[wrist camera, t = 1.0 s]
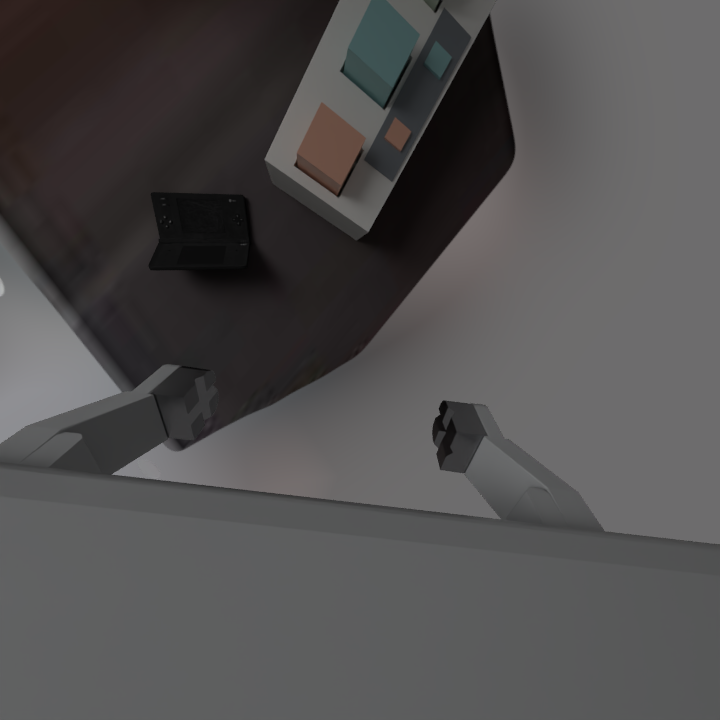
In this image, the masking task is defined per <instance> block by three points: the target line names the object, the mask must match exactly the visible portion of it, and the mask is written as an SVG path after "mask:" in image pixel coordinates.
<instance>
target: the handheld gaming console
mask: <svg viewBox="0 0 720 720" xmlns="http://www.w3.org/2000/svg"><path fill="white" fill-rule="evenodd" d="M151 198H152V202H153V207H154V212H155V217H156V221H157V226H158V231H159V236H160V239H159V243H158V246H157V248H156V250H155V252H154V254H153V257H152V259H151V261H150V263H149V268H150V270H208V269H245V268H247V266H248V257H249V248H250V245H251V243H250V233H249V227H248V219H247V211H246V203H245V198H244V196H243V195H228V194H193V193H157V192H153V193H151Z"/></svg>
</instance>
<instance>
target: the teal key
mask: <svg viewBox="0 0 720 720" xmlns="http://www.w3.org/2000/svg"><path fill="white" fill-rule="evenodd" d="M419 36H420V34H419V33H418V32H417V31H416V30H415V29H414V28H413V27H412V26H411V25H410V24H409V23H408V22H407V21H406V20H405V19H404V18H403V17H402V16H401V15H400V14H399V13H398V12H397V11H396V10H395V9H394V8H393V7H392V6H391V4H390V3H389V2H388V1H387V0H371V1H370V4H369V6H368V8H367V10H366V12H365V14H364V16H363V18H362V20H361V22H360V24H359V26H358V28H357V30H356V32H355V34H354V36H353V38H352V40H351V42H350V45H349V47H348V50H347V56H346V61H345V67H344V72H343V74H344V75H345V76H346V77H347V78H348V79H349V80H350V81H352V82H353V83H354V84H355V85H356V86H357V87H358V88H360V89H361V90H362V91H363V92H364V93H365V94H366V95H368V96H369V97H370V98H371V99H372V100H373V101H374V102H376V103H377V104H378V105H379V106H380V107H381V108H384V106H385V104H386V102H387V100H388V98H389V96H390V94H391V93H392V91H393V89H394V87H395V85H396V83H397V81H398V79H399V77H400V75H401V73H402V72H403V70H404V68H405V66H406V63H407V61H408V59H409V57H410V55H411V53H412V51H413V49H414V47H415V44H416V42H417V40H418V38H419Z"/></svg>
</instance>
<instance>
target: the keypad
mask: <svg viewBox="0 0 720 720" xmlns="http://www.w3.org/2000/svg"><path fill="white" fill-rule="evenodd" d="M370 1H371V0H340V1H339V3H338V5H337V7H336V9H335V11H334V13H333V15H332V18H331V20H330V22H329V24H328V26H327V28H326V30H325V32H324V35H323V37H322V39H321V41H320V43H319V45H318V47H317V49H316V52H315V54H314V56H313V58H312V60H311V62H310V64H309V66H308V68H307V71H306V73H305V75H304V77H303V79H302V81H301V83H300V85H299V88H298V90H297V92H296V94H295V96H294V98H293V100H292V102H291V105H290V107H289V109H288V111H287V113H286V115H285V117H284V119H283V122H282V124H281V126H280V128H279V130H278V132H277V134H276V136H275V139H274V141H273V143H272V145H271V147H270V149H269V151H268V153H267V155H266V158H265V162H266V165H267V168H268V171H269V174H270V177H271V180H272V183H273V184H274V185H275V186H277V187H278V188H280V189H281V190H283V191H284V192H286V193H287V194H289V195H290V196H292V197H293V198H294V199H296V200H297V201H299V202H300V203H302V204H303V205H305V206H306V207H308V208H309V209H311V210H312V211H314V212H315V213H317V214H318V215H320V216H321V217H323V218H324V219H325V220H327V221H328V222H330V223H331V224H333V225H334V226H336V227H337V228H339V229H340V230H342V231H343V232H345V233H346V234H348V235H349V236H351V237H352V238H353V239H355V240H356V241H357V240H358V239H360V238H361V237H362V236H364V235H365V234H367V233H368V232H369V230H370V228H371V227H372V225H373V223H374V221H375V219H376V218H377V216H378V214H379V212H380V210H381V208H382V207H383V205H384V203H385V201H386V199H387V198H388V196H389V194H390V192H391V190H392V189H393V187H394V185H395V183H396V181H397V180H398V178H399V176H400V174H401V172H402V170H403V169H404V167H405V165H406V163H407V161H408V160H409V158H410V156H411V154H412V152H413V151H414V149H415V147H416V145H417V143H418V142H419V140H420V138H421V136H422V134H423V133H424V131H425V129H426V127H427V125H428V123H429V122H430V120H431V118H432V116H433V114H434V113H435V111H436V109H437V107H438V105H439V104H440V102H441V100H442V98H443V96H444V95H445V93H446V91H447V89H448V87H449V86H450V84H451V82H452V80H453V78H454V76H455V75H456V73H457V71H458V69H459V67H460V66H461V64H462V62H463V60H464V58H465V57H466V55H467V53H468V51H469V49H470V48H471V46H472V44H473V42H474V40H475V39H476V37H477V35H478V33H479V31H480V29H481V28H482V26H483V24H484V22H485V20H486V19H487V17H488V15H489V13H490V11H491V10H492V8H493V6H494V4H495V2H496V0H440V1H439V3H438V5H437V7H436V9H435V10H434V11H433V10H432V9H431V8H430V7H429V6H428V5H427V4H426V3H425V2H424V1H423V0H387V1H388V2H389V3H390V4H391V6H392V7H393V8H394V9H395V10H396V11H397V12H398V13H399V14H400V15H401V16H402V17H403V18H404V19H405V20H406V21H407V22H408V23H409V24H410V25H411V26H412V27H413V28H414V29H415V30H416V31H417V32H418V33H419V34H420V36H419V38H418V40H417V42H416V44H415V47H414V49H413V51H412V53H411V55H410V57H409V59H408V61H407V63H406V66H405V68H404V70H403V72H402V73H401V75H400V77H399V79H398V81H397V83H396V85H395V87H394V89H393V91H392V93H391V94H390V96H389V98H388V100H387V102H386V104H385V106H384V108H381V107H380V106H379V105H378V104H377V103H376V102H374V101H373V100H372V99H371V98H370V97H369V96H368V95H366V94H365V93H364V92H363V91H362V90H361V89H360V88H358V87H357V86H356V85H355V84H354V83H353V82H352V81H350V80H349V79H348V78H347V77H346V76H345V75H344V74H343V72H344V67H345V61H346V56H347V50H348V47H349V45H350V42H351V40H352V38H353V36H354V34H355V32H356V30H357V28H358V26H359V24H360V22H361V20H362V18H363V16H364V14H365V12H366V10H367V8H368V6H369V4H370ZM321 102H323V103H324V104H325V105H326V106H327V107H329V108H330V109H331V110H332V111H334V112H335V113H336V114H337V115H338V116H340V117H341V118H342V119H343V120H345V121H346V122H347V123H348V124H349V125H351V126H352V127H353V128H354V129H356V130H357V131H358V132H359V133H361V134H362V135H363V136H364V137H365V138H366V139H365V142H364V144H363V146H362V149H361V151H360V153H359V155H358V158H357V159H356V161H355V163H354V165H353V167H352V169H351V171H350V173H349V175H348V177H347V179H346V180H345V182H344V184H343V186H342V188H341V190H340V192H339V194H338V196H335V195H334V194H333V193H331V192H330V191H328V190H327V189H326V188H324V187H323V186H321V185H320V184H319V183H317V182H316V181H314V180H313V179H312V178H310V177H309V176H307V175H306V174H305V173H303V172H302V171H300V170H299V169H298V166H297V151H298V149H299V147H300V145H301V143H302V141H303V139H304V137H305V135H306V133H307V131H308V129H309V127H310V124H311V122H312V120H313V118H314V116H315V114H316V112H317V110H318V108H319V106H320V104H321Z"/></svg>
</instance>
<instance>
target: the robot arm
mask: <svg viewBox="0 0 720 720" xmlns="http://www.w3.org/2000/svg"><path fill="white" fill-rule="evenodd" d="M215 381H216V378H215V374H214V372H213V371H211V370H206V369H200V368H193V367H186V366H179V365H172V364H166V365H163V366H162V367H161V368H160V369H158V370H157V371H156V372H155V373H154V374H152V375H151V376H150V377H149V378H147V379H146V380H145V381H144V382H143V383H141V384H140V385H139V386H138V387H137V388H135V389H134V390H133V391H132V392H129V391H126V392H123V393H120V394H117V395H114V396H112V397H108V398H106V399H103V400H100V401H97V402H94V403H91V404H88V405H85V406H82V407H80V408H77V409H74V410H71V411H68V412H66V413H63V414H59V415H57V416H54V417H51V418H48V419H45V420H42V421H39V422H36V423H34V424H31V425H28V426H26V427H24V428H23V429H21V430H20V431H18V432H17V433H15V434H14V435H13V436H11V437H10V438H8V439H7V440H5V441H4V442H2V443H1V444H0V720H720V544H709V543H701V542H692V541H684V540H675V539H666V538H657V537H648V536H639V535H631V534H622V533H613V532H605V531H604V529H603V528H602V527H601V525H600V524H599V522H598V521H597V519H596V518H595V516H594V515H593V513H592V512H591V510H590V509H589V507H588V506H587V504H586V503H585V502H584V500H583V499H582V497H581V495H580V494H579V493H578V492H577V491H576V490H574V489H573V488H572V487H571V486H569V485H568V484H567V483H565V482H564V481H563V480H562V479H560V478H559V477H558V476H556V475H555V474H554V473H552V472H551V471H549V470H548V469H547V468H546V467H544V466H543V465H542V464H541V463H539V462H538V461H537V460H535V459H534V458H533V457H531V456H530V455H528V454H527V453H526V452H525V451H523V450H522V449H521V448H520V447H518V446H517V445H516V444H514V443H513V442H512V441H511V440H509V439H504V437H503V435H502V433H501V431H500V429H499V427H498V426H497V424H496V422H495V420H494V418H493V416H492V414H491V413H490V411H489V409H488V407H487V406H486V405H482V404H467V403H460V402H451V401H442V403H441V405H440V407H439V411H440V415H439V416H438V417H436V418H435V421H434V424H433V430H432V435H433V442H434V444H435V445H436V446H437V447H438V451H437V458H438V462H439V466H440V470H446V471H452V472H459V473H465V476H466V477H467V478H468V479H469V481H470V482H471V483H472V484H473V485H474V487H475V488H476V489H477V490H478V492H479V493H480V494H481V495H482V496H483V498H484V499H485V500H486V501H487V503H488V504H489V505H490V506H491V507H492V508H493V510H494V511H495V512H496V513H497V515H498V516H499V517H500V518H501V519H492V518H483V517H474V516H466V515H457V514H448V513H440V512H431V511H423V510H413V509H404V508H396V507H388V506H379V505H370V504H362V503H353V502H344V501H336V500H326V499H317V498H310V497H301V496H292V495H284V494H275V493H266V492H257V491H248V490H240V489H231V488H223V487H214V486H205V485H196V484H187V483H179V482H170V481H161V480H153V479H144V478H136V477H126V476H118V475H111V474H113V473H114V472H116V471H118V470H119V469H121V468H122V467H124V466H126V465H127V464H128V463H130V462H132V461H133V460H135V459H137V458H138V457H140V456H142V455H143V454H145V453H146V452H148V451H150V450H151V449H153V448H154V447H156V446H157V445H159V444H161V443H162V442H164V441H166V440H167V439H168V438H177V439H187V440H195V438H196V437H197V436H198V434H199V433H200V432H201V430H202V429H203V427H204V426H205V424H204V420H205V419H207V418H209V417H211V416H212V415H213V413H214V412H215V410H216V407H217V404H218V397H219V396H218V390H217V389H216V388H215V387H214V386H213V383H214V382H215Z"/></svg>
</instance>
